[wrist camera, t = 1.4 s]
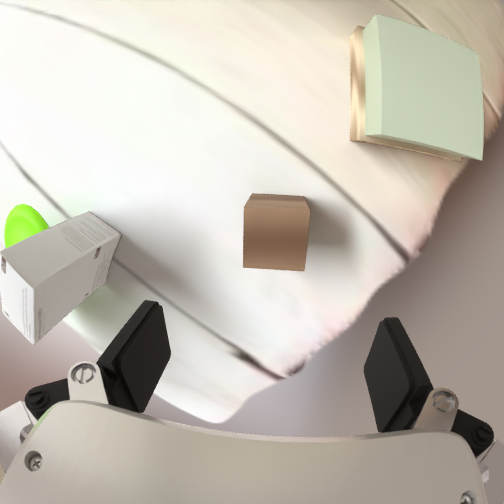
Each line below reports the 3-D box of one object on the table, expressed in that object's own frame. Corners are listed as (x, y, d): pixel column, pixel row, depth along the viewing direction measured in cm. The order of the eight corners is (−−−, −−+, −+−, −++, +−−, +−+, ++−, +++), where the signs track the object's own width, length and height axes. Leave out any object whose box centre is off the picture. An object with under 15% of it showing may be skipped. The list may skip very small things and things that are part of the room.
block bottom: (348, 40, 19) (357, 25, 15) (440, 65, 18) (459, 58, 14) (348, 140, 23) (359, 140, 19) (441, 158, 22) (461, 161, 18)
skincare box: (107, 281, 32) (37, 351, 18) (74, 258, 31) (1, 315, 18) (123, 230, 29) (34, 293, 15) (87, 205, 28) (-6, 252, 14)
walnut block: (252, 193, 26) (243, 207, 20) (304, 196, 25) (310, 211, 20) (251, 241, 28) (243, 267, 22) (300, 244, 27) (304, 271, 22)
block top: (362, 31, 15) (376, 13, 12) (455, 60, 14) (477, 53, 11) (364, 135, 19) (381, 134, 16) (457, 155, 18) (482, 160, 15)
